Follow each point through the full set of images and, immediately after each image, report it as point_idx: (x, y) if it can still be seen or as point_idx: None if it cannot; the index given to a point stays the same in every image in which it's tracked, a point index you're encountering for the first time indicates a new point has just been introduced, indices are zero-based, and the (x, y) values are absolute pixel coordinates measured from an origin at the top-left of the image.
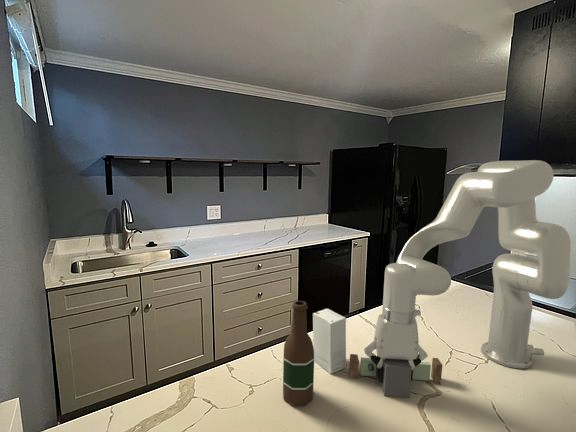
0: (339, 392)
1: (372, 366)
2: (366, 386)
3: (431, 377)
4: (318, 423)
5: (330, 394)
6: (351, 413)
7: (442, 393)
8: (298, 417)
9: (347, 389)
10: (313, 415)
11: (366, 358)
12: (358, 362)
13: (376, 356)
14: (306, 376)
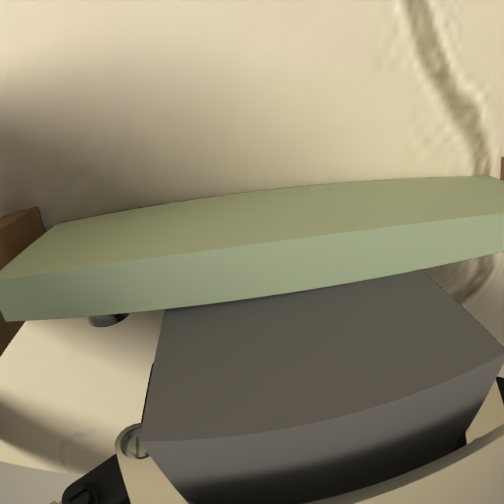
0: (29, 382)
1: (112, 322)
2: (118, 334)
3: (501, 165)
4: (48, 465)
5: (11, 391)
6: (106, 451)
7: (490, 276)
8: (5, 449)
9: (45, 365)
10: (25, 449)
11: (31, 290)
12: (3, 349)
13: (128, 501)
14: None
